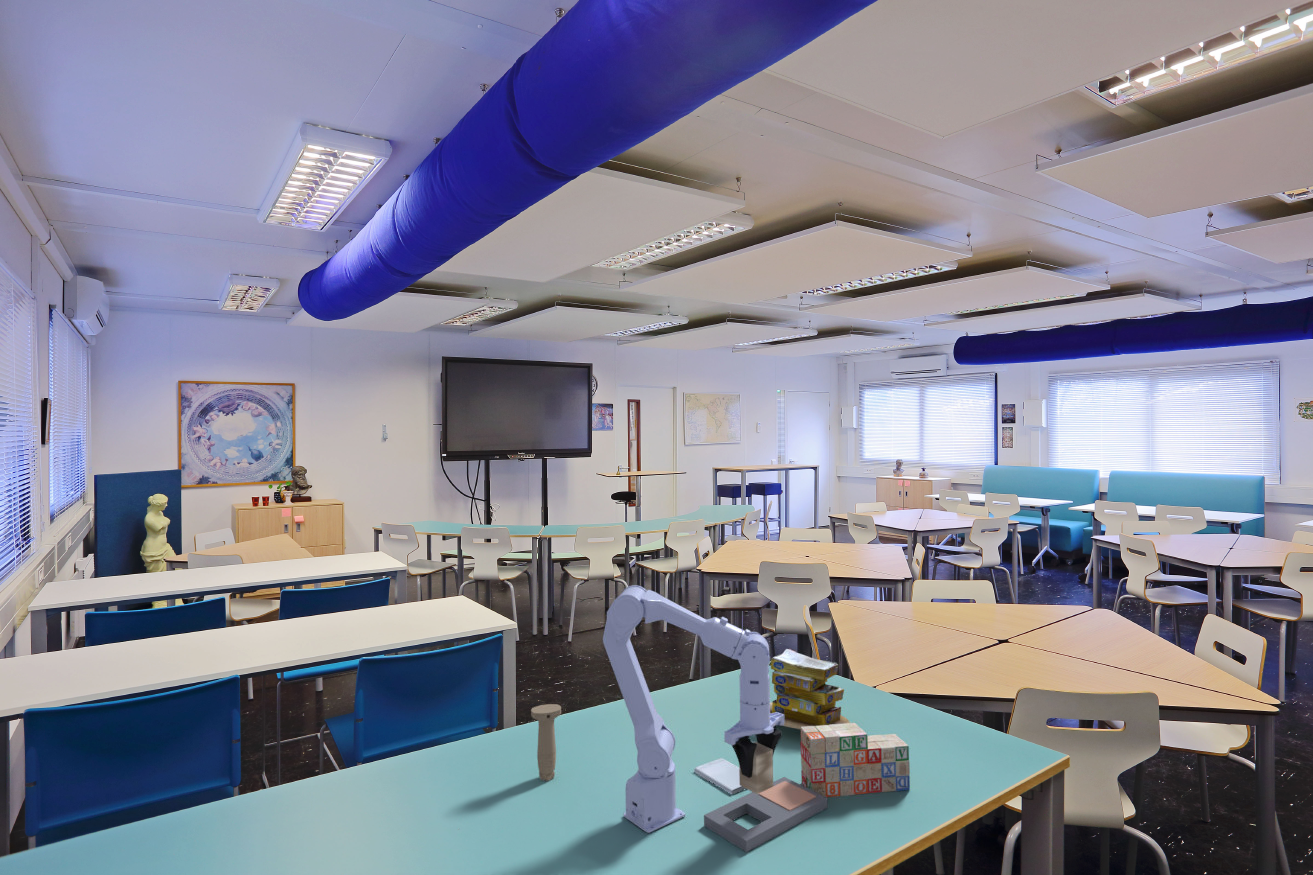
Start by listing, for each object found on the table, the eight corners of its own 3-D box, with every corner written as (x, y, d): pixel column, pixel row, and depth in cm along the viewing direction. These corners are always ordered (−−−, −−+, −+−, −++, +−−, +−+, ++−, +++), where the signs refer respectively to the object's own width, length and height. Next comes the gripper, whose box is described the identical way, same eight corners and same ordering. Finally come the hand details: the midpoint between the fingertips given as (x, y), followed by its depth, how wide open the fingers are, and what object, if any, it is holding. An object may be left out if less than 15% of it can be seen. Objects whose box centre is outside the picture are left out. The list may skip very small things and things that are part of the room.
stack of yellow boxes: (788, 697, 194) (787, 638, 194) (868, 722, 176) (867, 657, 176) (732, 722, 177) (731, 658, 177) (814, 753, 159) (813, 681, 159)
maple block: (756, 794, 127) (756, 756, 127) (739, 784, 130) (739, 748, 131) (773, 786, 130) (772, 749, 130) (755, 777, 133) (755, 741, 133)
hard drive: (760, 778, 145) (722, 756, 155) (731, 790, 140) (694, 766, 150) (760, 786, 145) (722, 764, 155) (731, 798, 140) (694, 774, 150)
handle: (530, 775, 149) (529, 706, 150) (559, 770, 152) (558, 702, 152) (534, 785, 145) (533, 714, 145) (563, 780, 147) (563, 710, 147)
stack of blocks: (896, 776, 148) (895, 719, 148) (910, 790, 142) (909, 731, 142) (800, 783, 145) (800, 725, 145) (811, 798, 139) (810, 737, 139)
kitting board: (746, 852, 121) (746, 839, 121) (704, 825, 129) (703, 813, 129) (827, 807, 135) (827, 796, 135) (784, 786, 144) (784, 775, 144)
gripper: (743, 715, 123) (744, 791, 123) (796, 696, 132) (797, 767, 132) (716, 704, 128) (717, 777, 128) (768, 686, 137) (769, 754, 137)
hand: (755, 771), depth 130 cm, fingers closed on maple block, 4 cm apart
